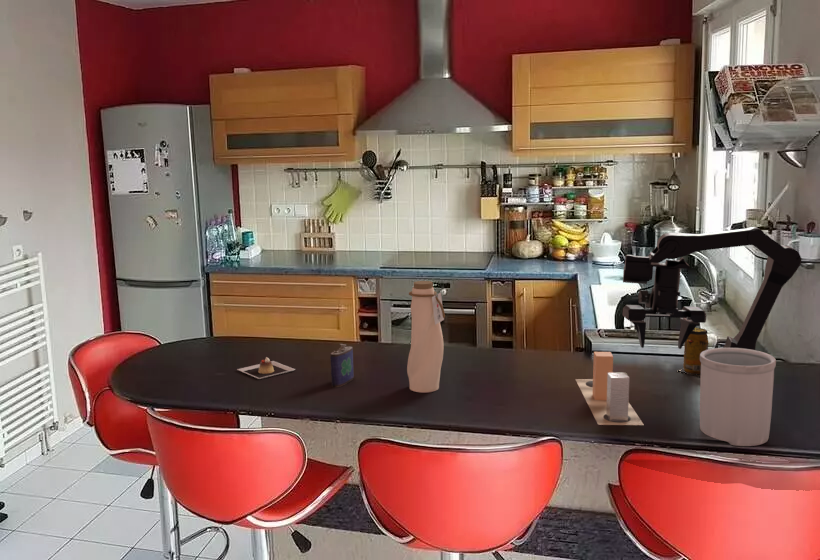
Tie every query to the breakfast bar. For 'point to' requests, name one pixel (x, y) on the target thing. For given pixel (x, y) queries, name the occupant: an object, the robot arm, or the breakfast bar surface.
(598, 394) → the marker post
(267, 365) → the dessert
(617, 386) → the fixed post
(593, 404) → the template board
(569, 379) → the breakfast bar surface
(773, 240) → the robot arm
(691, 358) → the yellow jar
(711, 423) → the utensil holder
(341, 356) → the flask
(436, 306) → the water bottle
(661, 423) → the breakfast bar surface
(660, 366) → the breakfast bar surface
